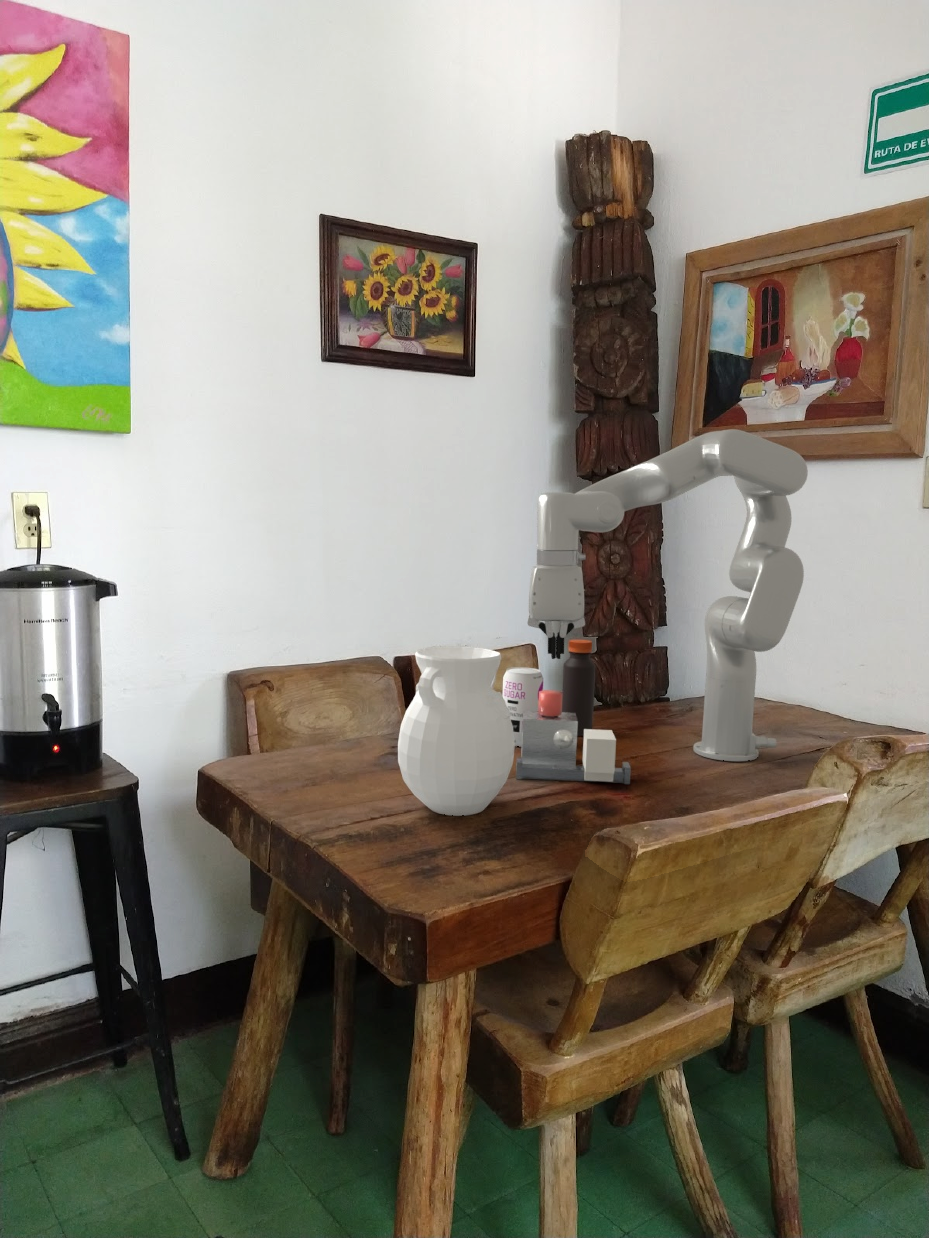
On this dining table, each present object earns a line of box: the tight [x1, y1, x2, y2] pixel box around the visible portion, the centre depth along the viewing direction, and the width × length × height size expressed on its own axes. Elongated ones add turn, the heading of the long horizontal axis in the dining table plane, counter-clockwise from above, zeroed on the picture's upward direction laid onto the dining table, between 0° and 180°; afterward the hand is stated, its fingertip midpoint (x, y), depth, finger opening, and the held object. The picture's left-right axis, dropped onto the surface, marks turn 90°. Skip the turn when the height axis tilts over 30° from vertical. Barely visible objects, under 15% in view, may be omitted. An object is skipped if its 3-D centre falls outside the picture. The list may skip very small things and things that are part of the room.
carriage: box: [582, 728, 617, 783], centre depth 164 cm, size 5×7×8 cm
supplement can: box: [502, 666, 544, 748], centre depth 188 cm, size 8×8×15 cm
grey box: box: [520, 711, 578, 766], centre depth 174 cm, size 10×7×9 cm
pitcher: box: [397, 645, 516, 817], centre depth 146 cm, size 19×18×25 cm
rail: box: [515, 756, 632, 785], centre depth 164 cm, size 20×4×3 cm, turn 87°
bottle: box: [561, 639, 596, 737], centre depth 197 cm, size 7×7×20 cm
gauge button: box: [538, 689, 563, 718], centre depth 173 cm, size 4×4×8 cm
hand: (555, 657), depth 172 cm, fingers closed
